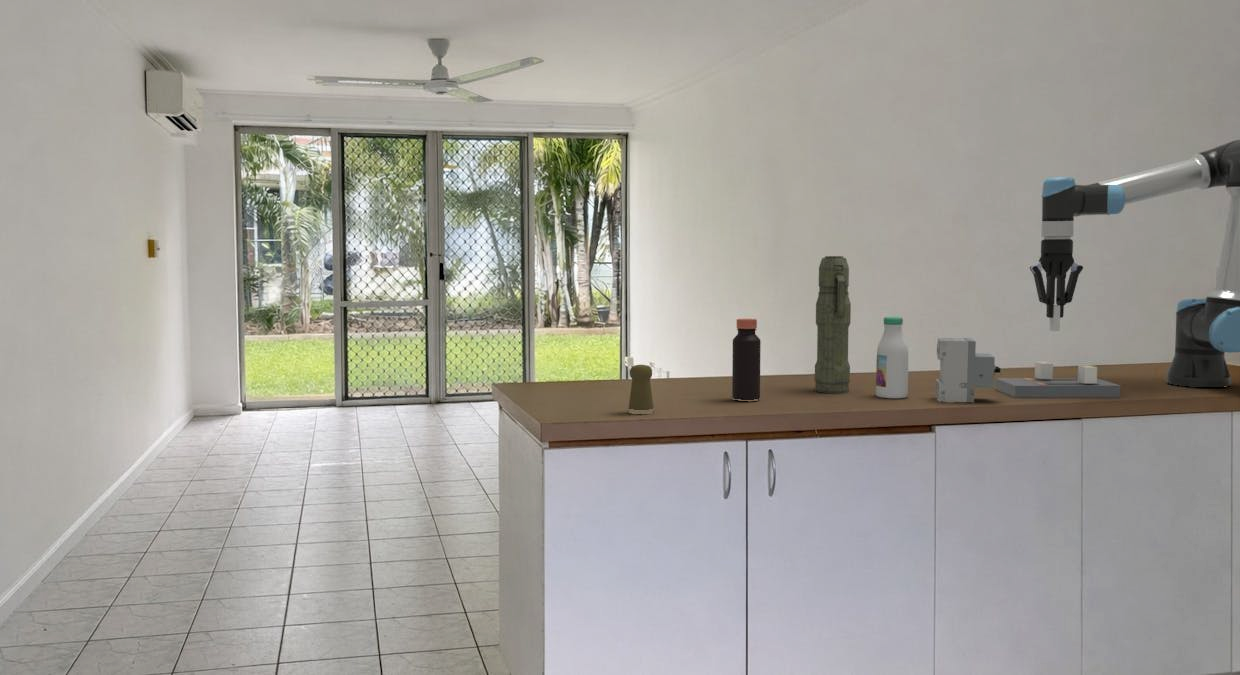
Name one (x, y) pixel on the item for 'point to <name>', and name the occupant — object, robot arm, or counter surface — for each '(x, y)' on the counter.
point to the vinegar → (746, 361)
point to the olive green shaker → (641, 388)
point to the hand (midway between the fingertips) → (1054, 330)
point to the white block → (1087, 374)
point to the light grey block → (1043, 370)
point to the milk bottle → (892, 361)
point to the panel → (1056, 388)
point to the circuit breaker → (962, 370)
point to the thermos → (833, 326)
